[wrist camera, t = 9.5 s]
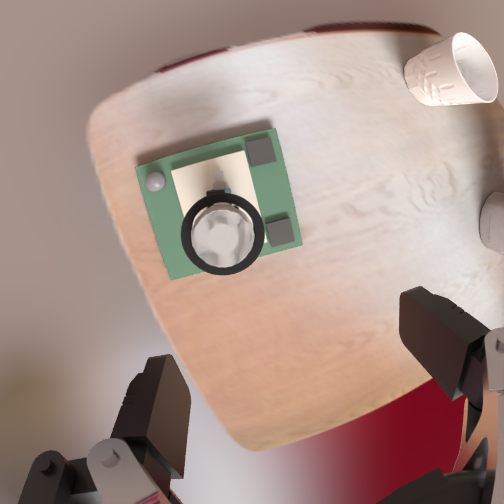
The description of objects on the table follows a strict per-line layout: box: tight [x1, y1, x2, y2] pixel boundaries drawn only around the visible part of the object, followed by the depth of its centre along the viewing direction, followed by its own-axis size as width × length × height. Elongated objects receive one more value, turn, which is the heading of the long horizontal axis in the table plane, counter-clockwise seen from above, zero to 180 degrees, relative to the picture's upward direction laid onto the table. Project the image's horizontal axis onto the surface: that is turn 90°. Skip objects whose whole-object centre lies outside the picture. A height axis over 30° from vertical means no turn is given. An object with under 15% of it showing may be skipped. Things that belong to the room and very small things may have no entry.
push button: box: [181, 171, 265, 275], centre depth 22 cm, size 7×5×10 cm
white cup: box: [404, 32, 498, 106], centre depth 21 cm, size 8×8×10 cm
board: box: [135, 128, 303, 280], centre depth 27 cm, size 14×12×2 cm
